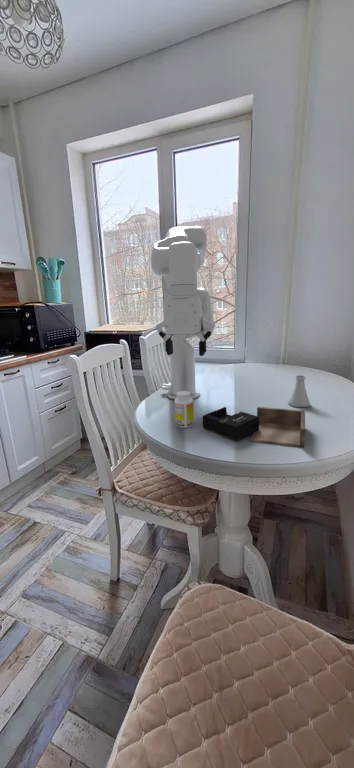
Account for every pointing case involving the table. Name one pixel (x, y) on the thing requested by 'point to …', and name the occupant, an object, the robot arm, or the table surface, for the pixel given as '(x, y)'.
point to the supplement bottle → (184, 410)
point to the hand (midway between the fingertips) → (185, 354)
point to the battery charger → (231, 423)
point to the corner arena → (280, 426)
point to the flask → (299, 393)
